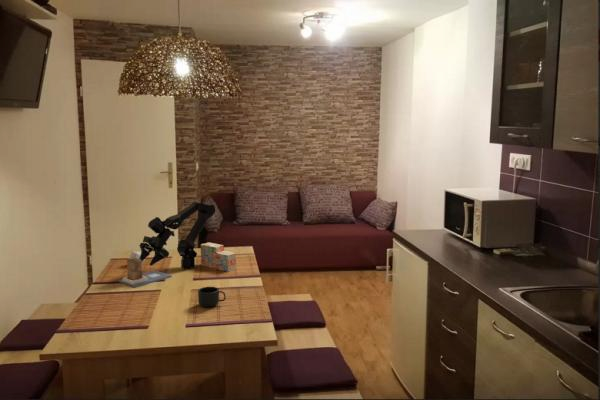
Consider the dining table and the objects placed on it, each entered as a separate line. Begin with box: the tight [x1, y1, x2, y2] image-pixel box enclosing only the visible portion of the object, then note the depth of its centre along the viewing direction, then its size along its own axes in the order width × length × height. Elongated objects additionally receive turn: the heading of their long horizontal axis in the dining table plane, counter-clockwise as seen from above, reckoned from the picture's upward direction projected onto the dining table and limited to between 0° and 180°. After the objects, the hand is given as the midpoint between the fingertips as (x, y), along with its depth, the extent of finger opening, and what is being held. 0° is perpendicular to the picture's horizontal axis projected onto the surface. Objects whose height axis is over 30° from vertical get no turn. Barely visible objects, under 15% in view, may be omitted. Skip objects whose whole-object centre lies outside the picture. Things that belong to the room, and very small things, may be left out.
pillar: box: [126, 258, 143, 281], centre depth 254 cm, size 5×5×10 cm
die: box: [128, 250, 146, 265], centre depth 284 cm, size 8×9×10 cm
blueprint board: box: [118, 270, 173, 288], centre depth 260 cm, size 22×14×2 cm, turn 141°
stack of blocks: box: [200, 242, 237, 272], centre depth 281 cm, size 21×6×12 cm, turn 53°
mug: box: [197, 286, 227, 308], centre depth 224 cm, size 12×9×7 cm
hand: (144, 263), depth 258 cm, fingers open, 9 cm apart
